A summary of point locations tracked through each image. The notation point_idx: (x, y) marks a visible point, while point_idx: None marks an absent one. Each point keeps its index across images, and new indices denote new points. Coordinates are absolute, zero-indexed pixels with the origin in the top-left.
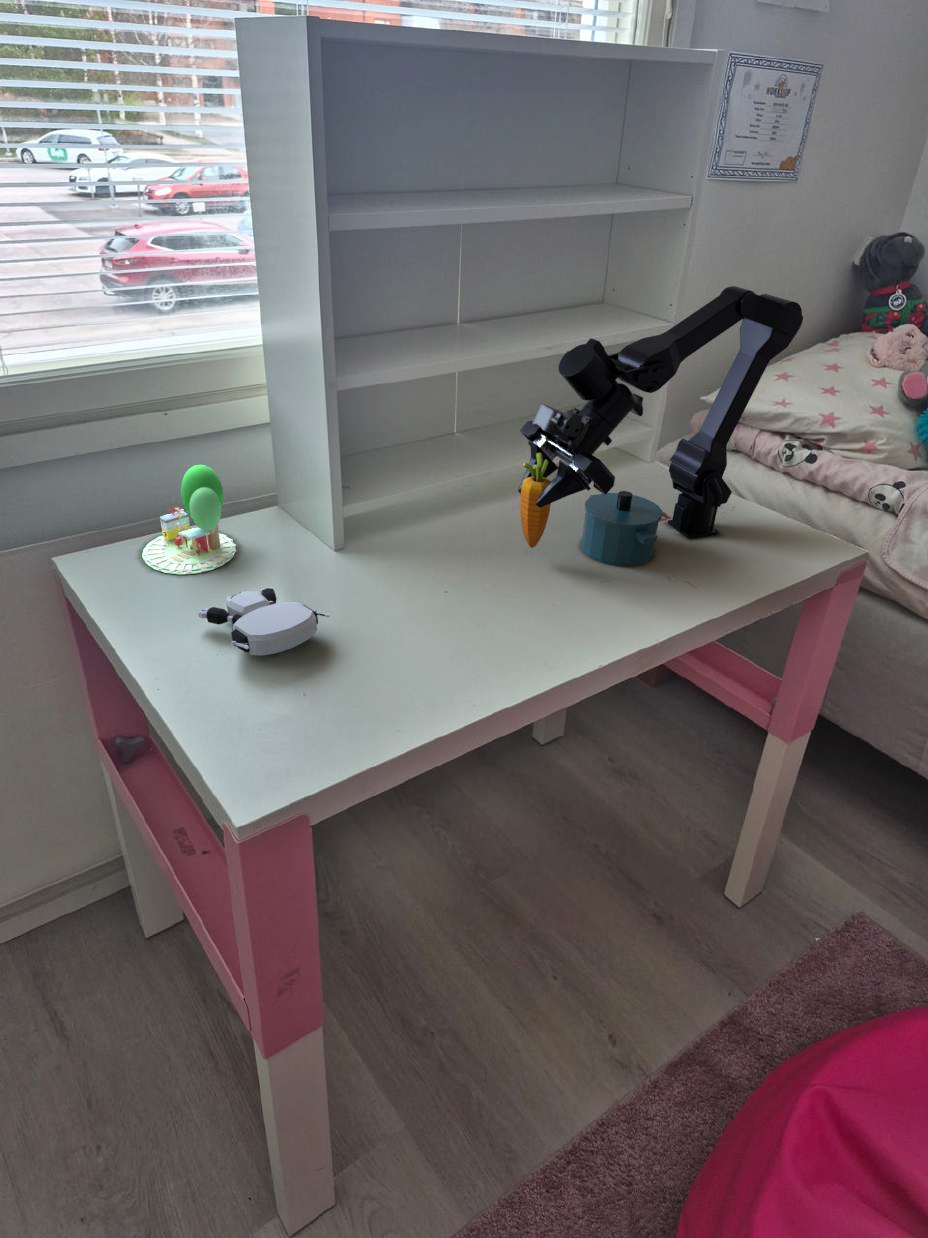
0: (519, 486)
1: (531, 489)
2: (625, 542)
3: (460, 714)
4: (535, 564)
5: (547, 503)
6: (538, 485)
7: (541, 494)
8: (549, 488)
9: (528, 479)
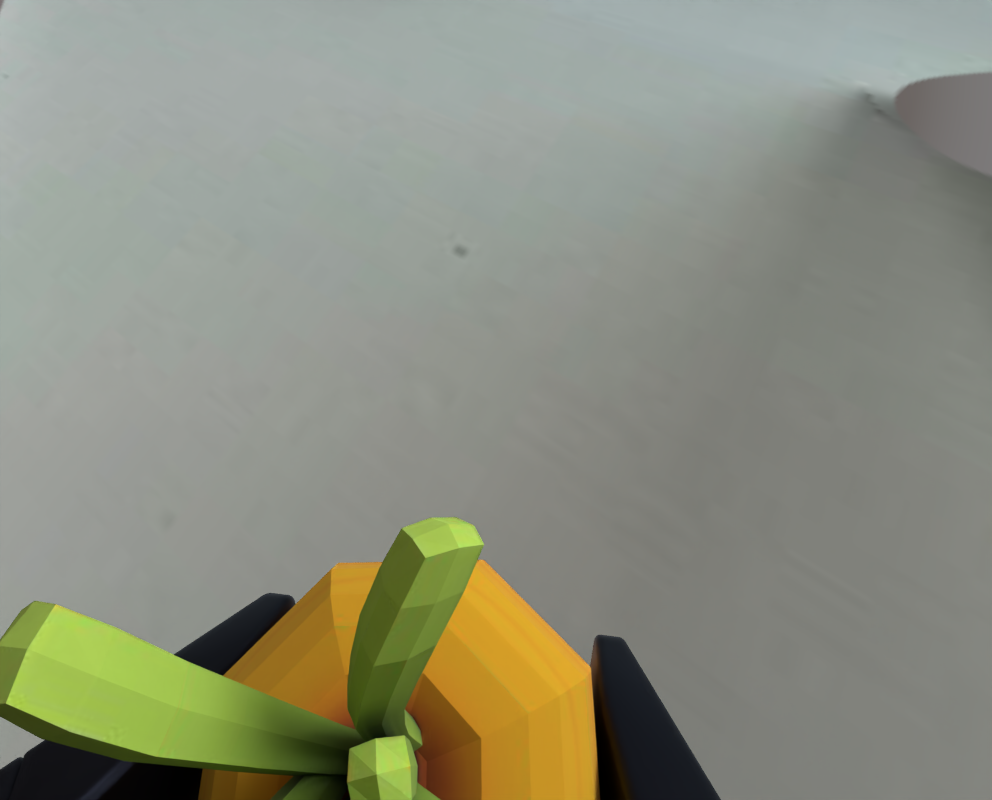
0: (639, 665)
1: (320, 583)
2: None
3: (9, 45)
4: None
5: None
6: (265, 676)
7: (225, 659)
8: None
9: (466, 663)
